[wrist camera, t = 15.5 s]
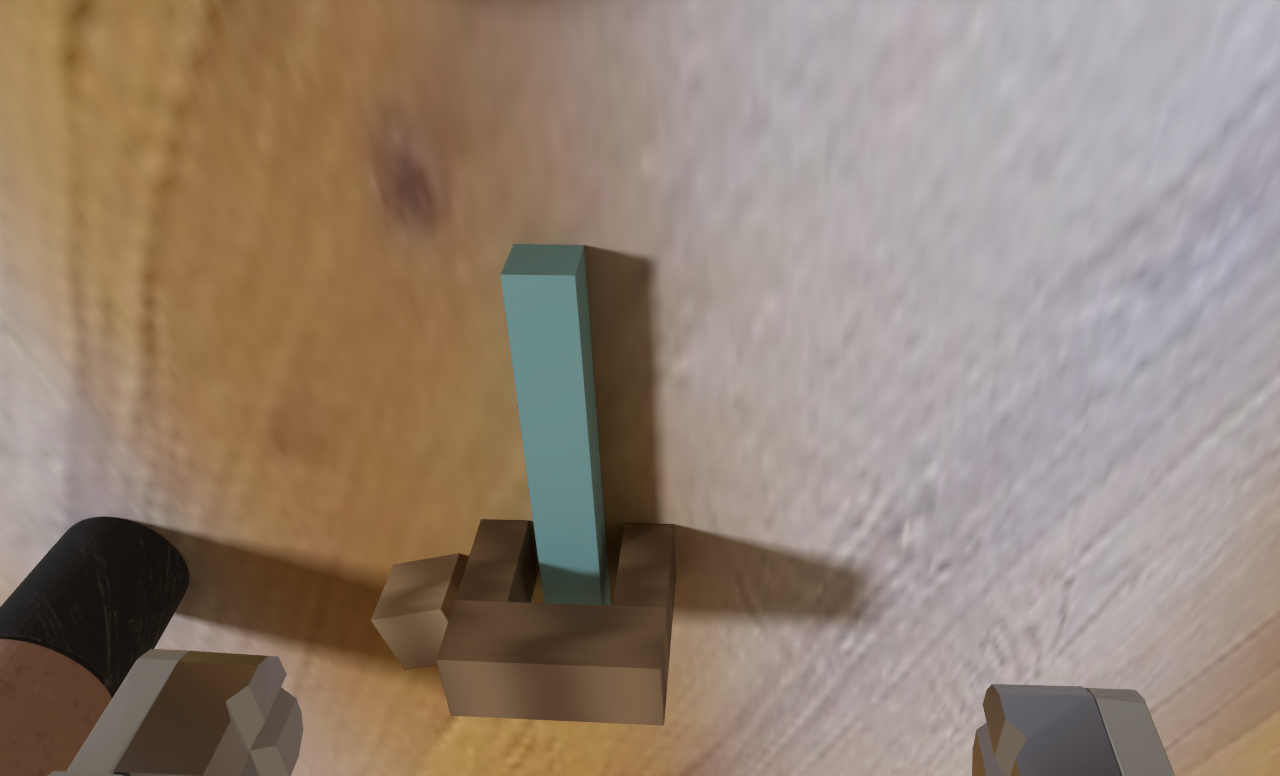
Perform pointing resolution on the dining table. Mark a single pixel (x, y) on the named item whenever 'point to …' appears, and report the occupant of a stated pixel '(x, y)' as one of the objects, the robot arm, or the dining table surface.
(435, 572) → the bead cube
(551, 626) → the wooden u-shaped block
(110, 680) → the travel mug
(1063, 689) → the robot arm
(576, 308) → the teal square bar
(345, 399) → the dining table surface
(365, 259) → the dining table surface
